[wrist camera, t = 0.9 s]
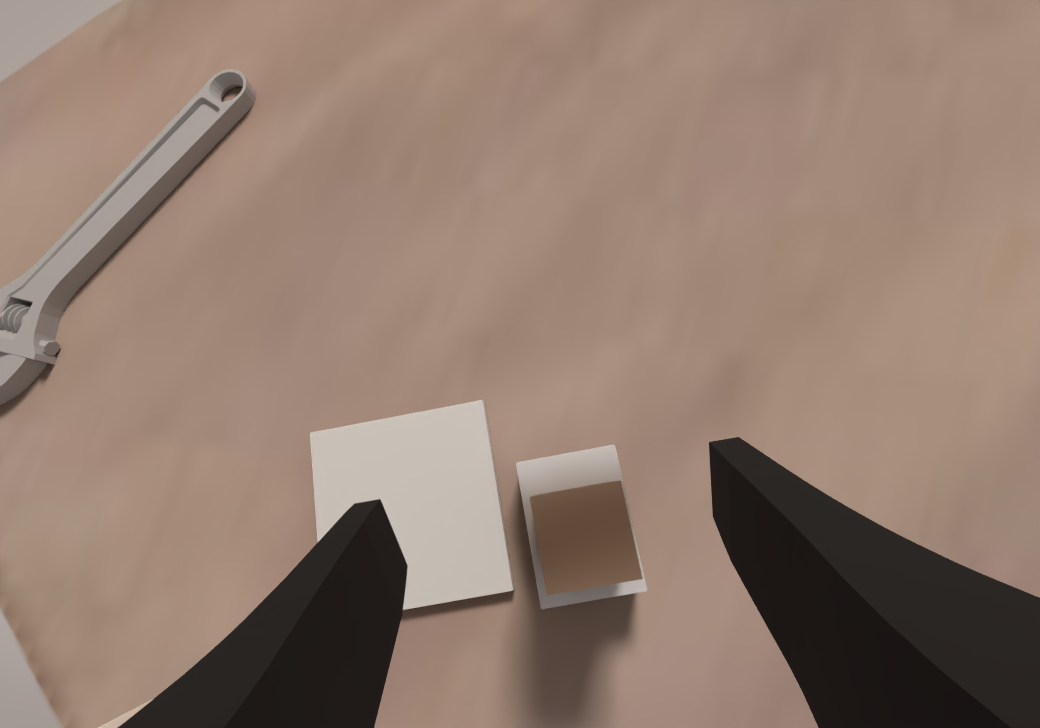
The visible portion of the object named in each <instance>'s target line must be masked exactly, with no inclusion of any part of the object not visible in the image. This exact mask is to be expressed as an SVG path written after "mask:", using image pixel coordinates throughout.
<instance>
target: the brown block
mask: <svg viewBox="0 0 1040 728" xmlns="http://www.w3.org/2000/svg"><path fill="white" fill-rule="evenodd" d="M516 467H517V472H518V478H519V484H520V490H521V496H522V501H523V507H524V513H525V519H526V525H527V531H528V536H529V542H530V548H531V554H532V560H533V566H534V571H535V577H536V583H537V589H538V595H539V601H540V606H541V609H547V608H553V607H558V606H564V605H570V604H576V603H581V602H587V601H593V600H599V599H604V598H610V597H616V596H622V595H627V594H633V593H639V592H645V591H647V587H646V582H645V578H644V573H643V569H642V564H641V560H640V555H639V551H638V546H637V542H636V537H635V533H634V528H633V524H632V520H631V515H630V511H629V506H628V502H627V497H626V493H625V488H624V484H623V479H622V475H621V470H620V466H619V461H618V457H617V452H616V448H615V444H614V445H609V446H604V447H598V448H593V449H587V450H582V451H577V452H571V453H566V454H560V455H555V456H550V457H544V458H539V459H533V460H528V461H523V462H517V463H516Z"/></svg>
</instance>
